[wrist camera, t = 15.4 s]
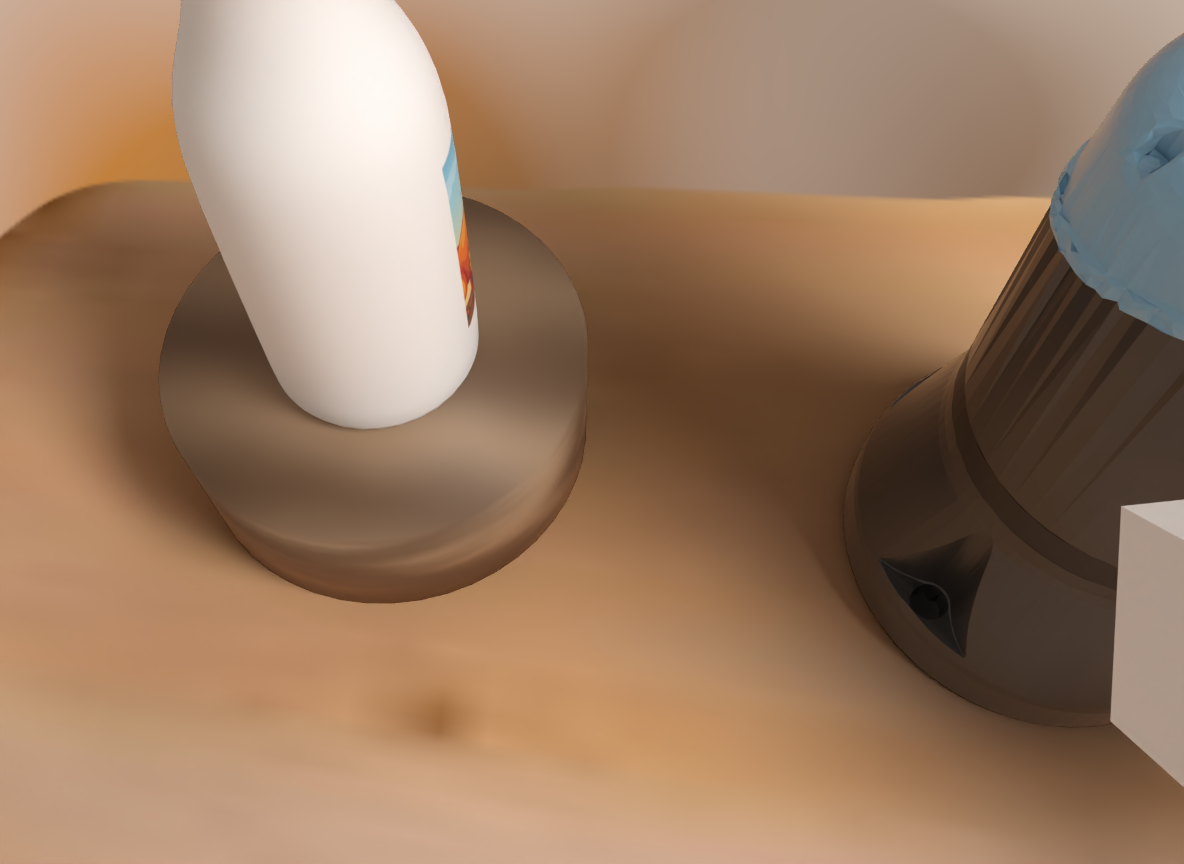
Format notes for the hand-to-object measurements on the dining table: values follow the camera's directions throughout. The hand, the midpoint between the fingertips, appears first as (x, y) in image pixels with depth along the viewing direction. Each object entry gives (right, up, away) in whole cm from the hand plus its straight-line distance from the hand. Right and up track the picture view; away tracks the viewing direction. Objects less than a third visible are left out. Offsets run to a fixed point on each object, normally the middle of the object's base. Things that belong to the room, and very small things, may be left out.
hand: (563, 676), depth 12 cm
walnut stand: (-8, +3, +33) cm, 34 cm away
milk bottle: (-8, +6, +28) cm, 30 cm away
